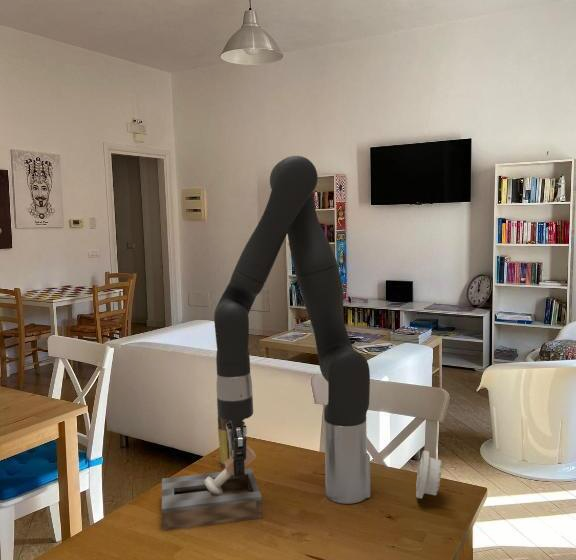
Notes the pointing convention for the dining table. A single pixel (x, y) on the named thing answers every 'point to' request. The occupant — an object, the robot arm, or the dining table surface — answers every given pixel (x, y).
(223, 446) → the sauce bottle
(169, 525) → the keyhole plate
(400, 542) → the dining table surface
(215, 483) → the keyhole peg
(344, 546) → the dining table surface
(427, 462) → the mechanical component
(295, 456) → the dining table surface
